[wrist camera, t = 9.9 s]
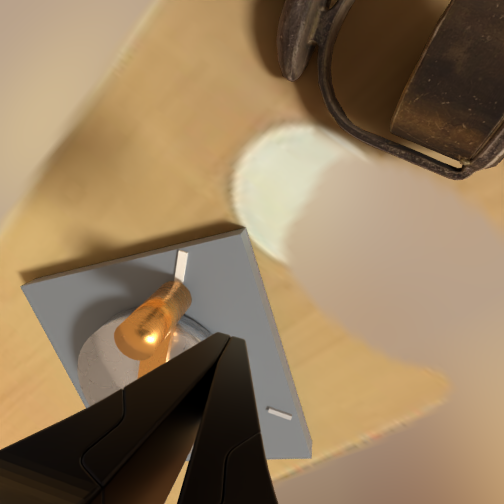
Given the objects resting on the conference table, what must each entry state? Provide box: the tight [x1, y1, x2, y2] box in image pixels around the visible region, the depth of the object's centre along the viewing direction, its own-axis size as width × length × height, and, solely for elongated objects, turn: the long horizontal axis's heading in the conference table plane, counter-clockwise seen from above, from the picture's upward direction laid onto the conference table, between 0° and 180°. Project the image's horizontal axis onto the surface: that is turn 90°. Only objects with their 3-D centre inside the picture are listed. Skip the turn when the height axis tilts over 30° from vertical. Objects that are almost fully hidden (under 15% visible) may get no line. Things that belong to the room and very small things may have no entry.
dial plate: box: [20, 228, 312, 461], centre depth 26 cm, size 19×19×2 cm
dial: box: [77, 281, 212, 454], centre depth 22 cm, size 15×12×6 cm
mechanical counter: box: [276, 0, 504, 180], centre depth 14 cm, size 7×13×10 cm
